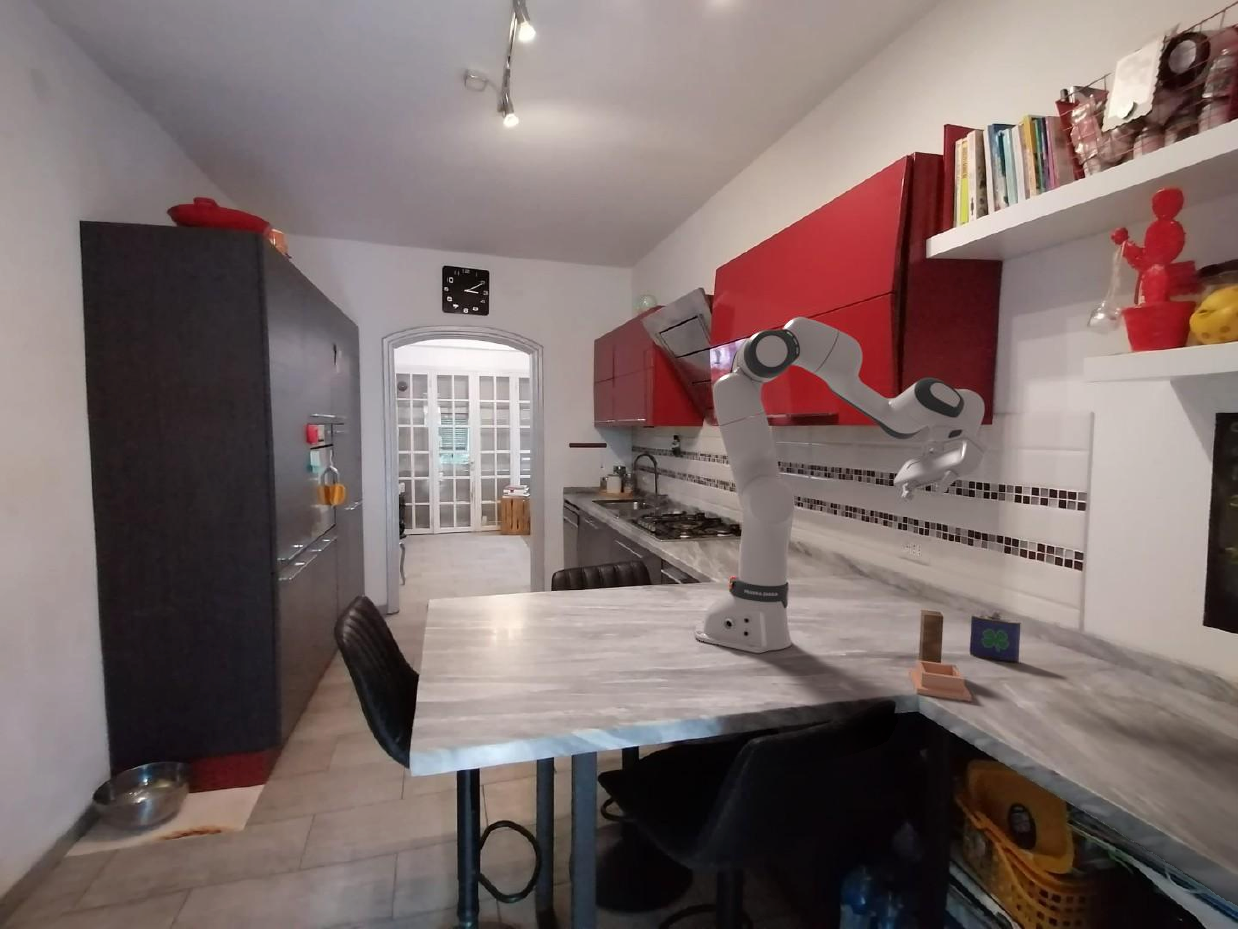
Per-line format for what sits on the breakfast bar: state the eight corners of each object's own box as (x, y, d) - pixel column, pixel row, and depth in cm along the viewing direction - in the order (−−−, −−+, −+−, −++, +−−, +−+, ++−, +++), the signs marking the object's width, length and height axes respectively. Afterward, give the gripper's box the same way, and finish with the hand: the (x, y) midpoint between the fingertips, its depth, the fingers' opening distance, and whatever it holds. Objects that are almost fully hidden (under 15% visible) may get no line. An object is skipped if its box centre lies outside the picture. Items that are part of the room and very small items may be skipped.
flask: (1017, 660, 125) (1020, 612, 124) (1019, 665, 122) (1022, 616, 122) (968, 652, 129) (971, 606, 129) (970, 656, 127) (972, 609, 126)
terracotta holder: (916, 693, 107) (917, 675, 107) (908, 673, 116) (909, 656, 116) (971, 701, 104) (972, 683, 104) (958, 680, 113) (959, 663, 113)
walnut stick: (921, 671, 117) (924, 614, 117) (918, 665, 121) (921, 609, 120) (940, 674, 116) (943, 616, 116) (936, 667, 120) (939, 611, 119)
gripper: (900, 452, 137) (877, 495, 132) (972, 426, 118) (949, 475, 113) (919, 469, 137) (897, 512, 132) (995, 445, 118) (972, 495, 113)
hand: (922, 495), depth 122 cm, fingers open, 8 cm apart
